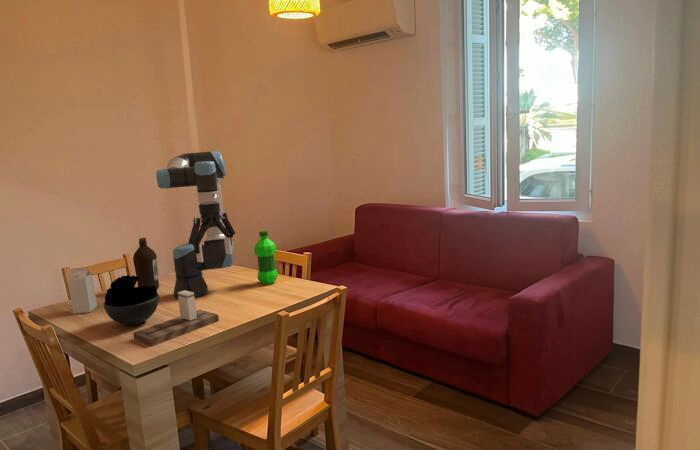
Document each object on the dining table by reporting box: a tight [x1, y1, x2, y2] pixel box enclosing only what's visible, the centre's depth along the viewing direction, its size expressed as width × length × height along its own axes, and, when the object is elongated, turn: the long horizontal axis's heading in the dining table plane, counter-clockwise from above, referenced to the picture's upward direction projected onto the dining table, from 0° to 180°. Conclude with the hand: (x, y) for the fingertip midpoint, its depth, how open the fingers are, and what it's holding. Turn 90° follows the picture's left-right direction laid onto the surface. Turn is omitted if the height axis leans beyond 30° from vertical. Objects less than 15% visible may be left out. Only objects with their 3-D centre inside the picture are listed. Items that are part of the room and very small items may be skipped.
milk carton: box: [67, 266, 98, 315], centre depth 220 cm, size 7×7×19 cm
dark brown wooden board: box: [132, 309, 220, 347], centre depth 191 cm, size 28×12×3 cm, turn 141°
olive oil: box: [132, 237, 160, 289], centre depth 248 cm, size 11×11×25 cm
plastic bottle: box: [253, 230, 279, 285], centre depth 245 cm, size 10×10×25 cm
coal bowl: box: [103, 274, 160, 326], centre depth 200 cm, size 20×20×19 cm
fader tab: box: [177, 290, 197, 320], centre depth 194 cm, size 3×6×10 cm, turn 51°
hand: (214, 257), depth 197 cm, fingers open, 13 cm apart
